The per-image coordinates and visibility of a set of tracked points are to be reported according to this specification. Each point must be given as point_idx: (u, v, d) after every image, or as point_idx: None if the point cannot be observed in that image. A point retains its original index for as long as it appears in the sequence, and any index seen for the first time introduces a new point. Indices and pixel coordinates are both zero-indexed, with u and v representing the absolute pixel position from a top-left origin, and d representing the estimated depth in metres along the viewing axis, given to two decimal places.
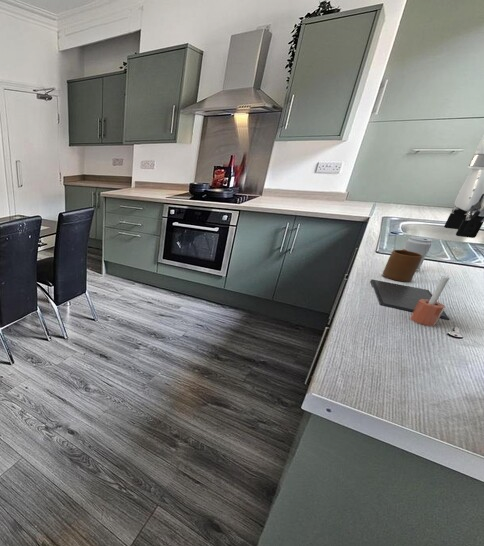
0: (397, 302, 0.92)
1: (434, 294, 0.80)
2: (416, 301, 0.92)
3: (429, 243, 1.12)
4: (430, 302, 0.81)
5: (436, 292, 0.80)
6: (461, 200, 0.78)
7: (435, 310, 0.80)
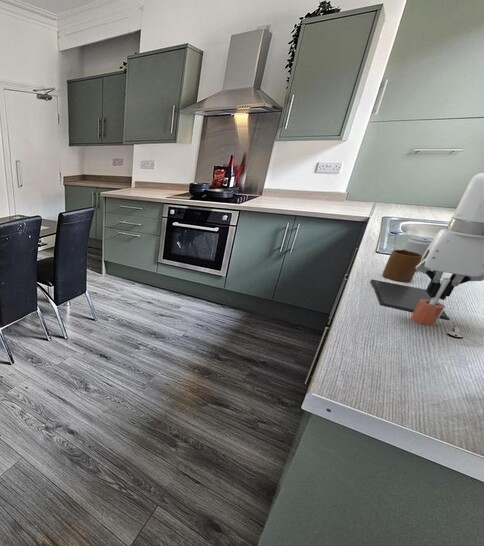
0: (397, 302, 0.92)
1: None
2: (416, 301, 0.92)
3: (429, 243, 1.12)
4: (430, 303, 0.81)
5: (437, 293, 0.79)
6: (458, 266, 0.75)
7: (435, 310, 0.80)
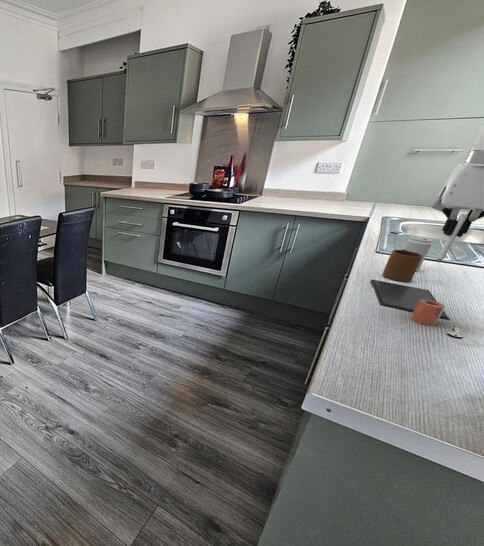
0: (397, 302, 0.92)
1: None
2: (416, 301, 0.92)
3: (429, 243, 1.12)
4: (447, 242, 0.80)
5: (454, 231, 0.78)
6: (476, 200, 0.74)
7: (435, 310, 0.80)
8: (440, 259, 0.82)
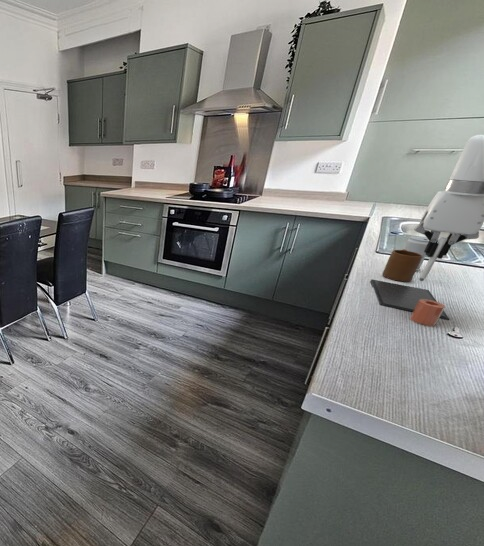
0: (397, 302, 0.92)
1: None
2: (416, 301, 0.92)
3: None
4: (428, 262, 0.85)
5: (434, 253, 0.84)
6: (455, 225, 0.80)
7: (435, 310, 0.80)
8: (422, 278, 0.87)
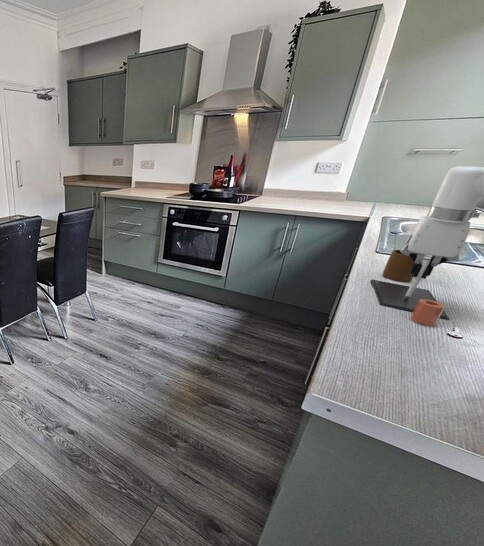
0: (397, 302, 0.92)
1: (417, 275, 0.90)
2: (416, 301, 0.92)
3: None
4: (413, 282, 0.91)
5: (419, 273, 0.90)
6: (437, 248, 0.85)
7: (435, 310, 0.80)
8: (408, 296, 0.93)
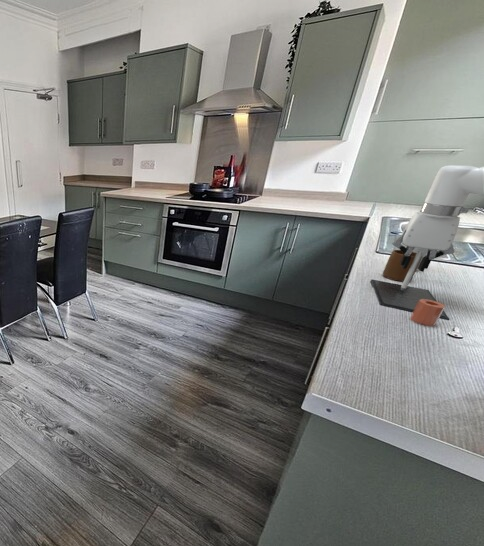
0: (397, 302, 0.92)
1: (411, 266, 0.97)
2: (416, 301, 0.92)
3: None
4: (408, 273, 0.97)
5: (413, 264, 0.96)
6: (429, 242, 0.91)
7: (435, 310, 0.80)
8: (403, 288, 0.98)
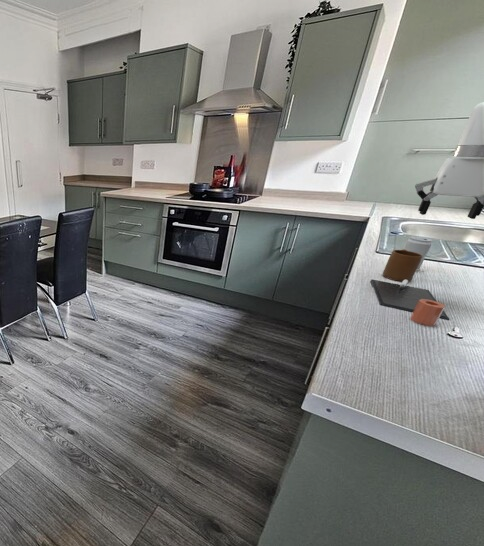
0: (397, 302, 0.92)
1: (402, 282, 1.04)
2: (416, 301, 0.92)
3: (429, 243, 1.12)
4: (401, 283, 1.03)
5: None
6: (464, 188, 0.85)
7: (435, 310, 0.80)
8: (402, 284, 0.99)
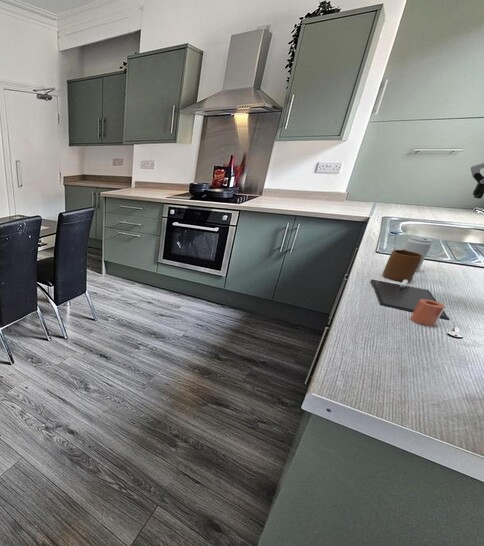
0: (397, 302, 0.92)
1: (402, 282, 1.04)
2: (416, 301, 0.92)
3: (429, 243, 1.12)
4: (401, 283, 1.03)
5: None
6: None
7: (435, 310, 0.80)
8: (402, 284, 0.99)
